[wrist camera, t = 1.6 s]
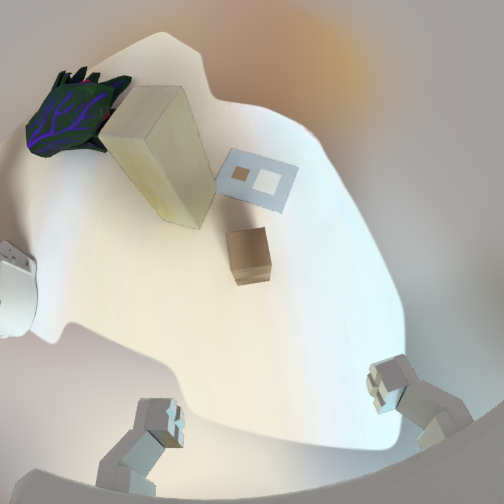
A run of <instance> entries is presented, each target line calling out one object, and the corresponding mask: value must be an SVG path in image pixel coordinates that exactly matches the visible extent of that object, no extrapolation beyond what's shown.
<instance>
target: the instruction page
mask: <svg viewBox="0 0 504 504" xmlns="http://www.w3.org/2000/svg"><path fill="white" fill-rule="evenodd" d="M298 169H299V168H298V167H295V166H292V165H288V164H285V163H282V162H279V161H275V160H272V159H269V158H265V157H262V156H258V155H255V154H251V153H247V152H244V151H240V150H236V149H231V151H230V153H229V155H228V156H227V158H226V160H225V162H224V164H223V166H222V168H221V170H220V172H219V174H218V176H217V178H216V179H215V183H216V185H217V189H216V193H219V194H222V195H225V196H229V197H232V198H235V199H238V200H241V201H244V202H248V203H251V204H254V205H257V206H260V207H263V208H266V209H269V210H272V211H275V212H278V213H281V214H282V212H283V209H284V206H285V204H286V201H287V198H288V196H289V193H290V190H291V188H292V185H293V182H294V179H295V177H296V174H297V171H298Z"/></svg>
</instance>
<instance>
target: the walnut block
mask: <svg viewBox="0 0 504 504" xmlns="http://www.w3.org/2000/svg"><path fill="white" fill-rule="evenodd" d="M226 238H227V245H228V252H229V260H230V266H231V272H232V274H233V276H234V279H235V281H236V283H237V285H238V286H240V285H246V284H253V283H259V282H265V281H269V280H270V273H271V266H272V264H271V258H270V253H269V248H268V242H267V237H266V232H265V227H262V228H256V229H249V230H243V231H237V232H231V233H226Z"/></svg>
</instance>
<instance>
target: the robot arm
mask: <svg viewBox="0 0 504 504" xmlns="http://www.w3.org/2000/svg"><path fill="white" fill-rule="evenodd" d="M35 276H36V262H35V261H34V260H33V259H31V258H30V257H28V256H27V255H25V254H24V253H23V252H21V251H20V250H18V249H17V248H16V247H14V246H13V245H11V244H10V243H9V242H7V241H5V240H3V241H2V242H1V243H0V338H7V337H9V336H14V337H20V336H22V335H24V334H25V333H26V332H27V331H28V330H29V328H30V326H31V324H32V322H33V320H34V316H35V312H36V307H37V288H36V281H35ZM369 370H370V373H369V374H368V375H367V380H366V381H367V388H368V391H369V394H370V395H371V396H373V397H374V398H375V399H374V405H375V408H376V410H377V412H378V415H379V414H382V413H385V412H388V411H391V410H393V409H396V410H397V411H398V412H400V413H401V414H402V415H404V416H405V417H407V418H408V419H409V420H411V421H412V422H413V423H415V424H417V425H418V426H419V427H421V428H422V429H423V430H424V431H423V433H422V434H421V435H420V436H419V438H418V440H417V442H418V445H419V447H420V449H421V451H420V452H418V453H416V454H414V455H412V456H409V457H407V458H405V459H403V460H400V461H398V462H395V463H393V464H391V465H388V466H385V467H383V468H380V469H378V470H375V471H372V472H369V473H366V474H363V475H360V476H357V477H354V478H350V479H347V480H344V481H340V482H336V483H332V484H329V485H324V486H321V487H316V488H312V489H307V490H301V491H297V492H290V493H284V494H278V495H270V496H262V497H253V498H240V499H216V500H214V499H212V500H202V499H176V498H163V497H155V492H156V485H155V484H154V483H153V482H151V481H149V480H148V479H146V476H147V475H148V473H149V472H150V470H151V469H152V468H153V466H154V465H155V463H156V462H157V460H158V459H159V458H160V456H161V455H162V453H163V452H164V450H165V448H183V445H184V434H183V433H182V432H181V430H182V429H183V428H184V426H185V418H184V413H183V410H182V409H181V407H179V406H177V401H176V400H175V398H141V399H140V400H139V402H138V406H137V411H136V416H135V421H134V426H133V430H129V431H128V432H127V434H125V436H124V437H123V438H122V439H121V440H120V441H119V442H118V443H117V444H116V445H115V446H114V447H113V448H112V449H111V450H110V451H109V452H108V453H107V455H106V456H105V457H104V458H103V459H102V460H101V461H100V463H99V469H98V474H97V480H96V485H95V486H92V485H89V484H85V483H81V482H78V481H74V480H71V479H68V478H64V477H61V476H58V475H55V474H53V473H50V472H47V471H45V470H42V469H38V468H37V469H33V470H31V471H30V472H29V473H27V474H26V475H25V476H23V477H22V478H21V479H20V480H19V481H18V482H17V483H16V485H15V487H14V489H13V492H12V495H11V499H10V503H9V504H504V400H503V401H502V402H501V403H499V404H498V405H497V406H495V407H494V408H493V409H491V410H490V411H489V412H487V413H486V414H484V415H483V416H481V417H480V418H478V419H477V420H475V421H474V420H473V418H472V416H471V415H470V413H469V411H468V409H467V408H466V406H465V404H464V403H463V401H462V400H461V399H459V398H457V397H455V396H453V395H451V394H449V393H447V392H445V391H443V390H441V389H439V388H438V387H436V386H433V385H432V384H430V383H428V382H426V381H424V380H421V381H420V380H419V378H418V377H417V375H416V373H415V372H414V370H413V368H412V367H411V365H410V363H409V362H408V360H407V358H406V357H405V355H403V354H400V355H397V356H395V357H391V358H388V359H385V360H382V361H379V362H376V363H373V364H371V365H370V368H369Z"/></svg>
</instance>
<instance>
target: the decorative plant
mask: <svg viewBox="0 0 504 504" xmlns="http://www.w3.org/2000/svg"><path fill="white" fill-rule="evenodd" d="M86 71H87V66H86V67H82V68H80V69H79V70H78V71H77V73H76V74H75V75H74V76H73V77H72V78H70V74H72V73H65V72H66V71H62V72H60V73H59V74H58V76H57V79H56V81H55V83H54V85H53V87H52V90H51V92H50V93H49V94H48V96H47V97H46V99H45V100H44V102H43V103H42V105H41V107H40V109H39V111H38V112H36V113H35V115H34V116H33V117H32V118H31V120H30V121H29V123H28V124H27V125H26V141H27V147H28V148H29V150H30V151H31V153H33V154H35V155H37V156H40V157H45V158H47V157H51V156H53V155H54V154H56V153H58V152H59V151H61V150H76V149H91V150H97V151H101V152H104V153H106V151H107V148H106V147H105V146H104V144H103V143H102V142H101V140H100V139H99V137H98V135H99V133H100V131H101V130H102V129H103V127H104V126H105V124H106V123H107V122H108V120H109V119H110V117H111V116H112V115H113V113H114V112H115V111H116V109H111V106H112V105H113V103H114V102H115V100H116V99H117V97H118V96H119V95H120V94H121V93H122V92H123V91H124V90H125V89H126V88H127V87H128V86H129V84H130V83H131V79H132V77H130V76H126V75H124V76H120V77H117V78H114V79H111V80H109V81H105V82H101V83H98V80H99V77H100V73H91V74H90V75H89V76H88V77H87V78H86V80H85V81H83V80H84V78H85V75H86Z"/></svg>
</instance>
